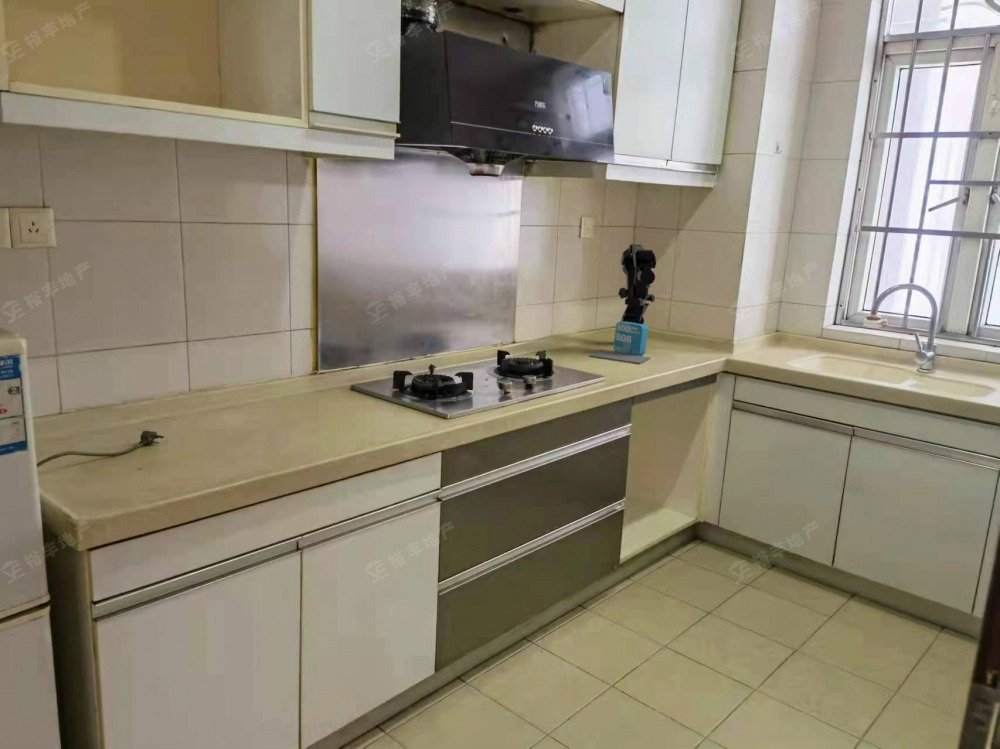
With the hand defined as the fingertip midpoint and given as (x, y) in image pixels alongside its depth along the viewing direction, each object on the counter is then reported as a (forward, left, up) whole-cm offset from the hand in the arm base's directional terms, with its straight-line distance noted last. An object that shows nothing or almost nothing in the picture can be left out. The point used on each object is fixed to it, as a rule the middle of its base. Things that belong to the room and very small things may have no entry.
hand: (638, 321), depth 298 cm
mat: (+17, 0, -12) cm, 21 cm away
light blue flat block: (+8, 0, -12) cm, 15 cm away
